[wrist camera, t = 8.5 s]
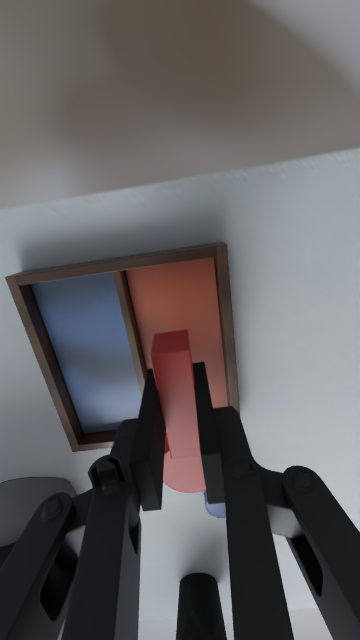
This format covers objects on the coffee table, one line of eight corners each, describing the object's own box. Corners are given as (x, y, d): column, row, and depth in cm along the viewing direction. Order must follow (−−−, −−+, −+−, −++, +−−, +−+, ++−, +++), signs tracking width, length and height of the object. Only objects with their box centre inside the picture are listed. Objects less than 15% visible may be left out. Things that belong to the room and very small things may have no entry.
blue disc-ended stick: (195, 436, 29) (196, 456, 26) (235, 432, 28) (240, 452, 26) (206, 506, 33) (208, 529, 30) (241, 502, 32) (246, 525, 30)
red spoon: (133, 335, 15) (125, 357, 13) (208, 325, 15) (214, 346, 13) (165, 475, 19) (163, 511, 17) (224, 468, 19) (231, 504, 17)
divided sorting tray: (20, 271, 22) (4, 277, 20) (222, 241, 21) (227, 244, 19) (80, 435, 28) (72, 452, 26) (236, 417, 28) (241, 433, 26)
